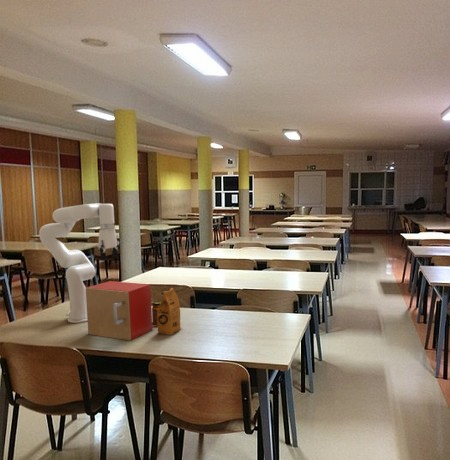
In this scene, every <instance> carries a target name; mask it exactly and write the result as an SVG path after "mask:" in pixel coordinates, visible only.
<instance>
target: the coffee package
mask: <svg viewBox="0 0 450 460" xmlns="http://www.w3.org/2000/svg"><path fill="white" fill-rule="evenodd" d="M160 294H161V295H162V299H161V301H160V302H161V303H160V305H159V307H158V311H157V319H158V326H157V332H158V334H162V335H166V336H168V335H169V336H171V335H173V334H175V333H178V332H179V331H180V330H181V329H182V327H181V306H180V299H179V297H178V295H177V293H176V291H175V289H174V288H173V287H170V289H169V290H165V291H162V292H161V293H160Z"/></svg>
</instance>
